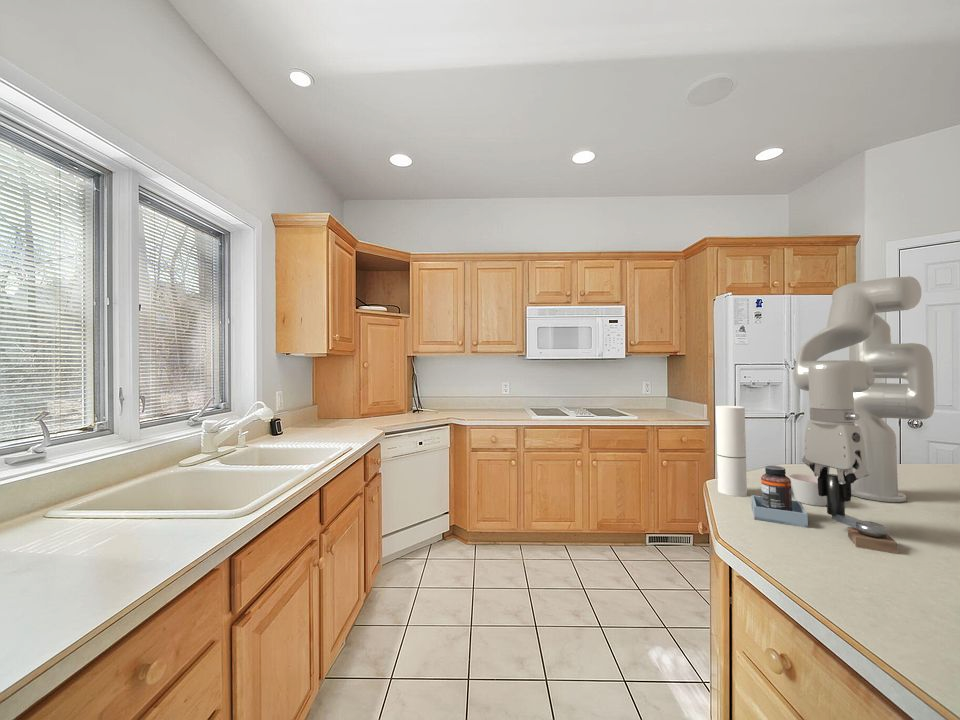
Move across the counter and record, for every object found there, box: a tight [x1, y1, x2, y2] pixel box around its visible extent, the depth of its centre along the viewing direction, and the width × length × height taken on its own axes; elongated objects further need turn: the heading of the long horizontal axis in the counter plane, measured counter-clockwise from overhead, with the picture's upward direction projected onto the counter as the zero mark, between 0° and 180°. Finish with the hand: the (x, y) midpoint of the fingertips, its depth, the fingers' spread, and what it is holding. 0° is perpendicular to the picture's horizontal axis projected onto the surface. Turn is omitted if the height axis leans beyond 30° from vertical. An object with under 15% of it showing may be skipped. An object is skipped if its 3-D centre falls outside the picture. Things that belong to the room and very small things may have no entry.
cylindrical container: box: [715, 405, 748, 497], centre depth 115 cm, size 7×7×25 cm
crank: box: [826, 473, 887, 537], centre depth 84 cm, size 11×4×10 cm, turn 3°
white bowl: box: [788, 473, 827, 507], centre depth 106 cm, size 9×9×6 cm
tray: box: [750, 494, 809, 528], centre depth 97 cm, size 10×10×3 cm
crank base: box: [847, 526, 899, 555], centre depth 81 cm, size 6×6×2 cm
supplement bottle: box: [760, 465, 793, 511], centre depth 97 cm, size 6×6×11 cm
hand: (834, 497), depth 89 cm, fingers closed on crank, 3 cm apart
